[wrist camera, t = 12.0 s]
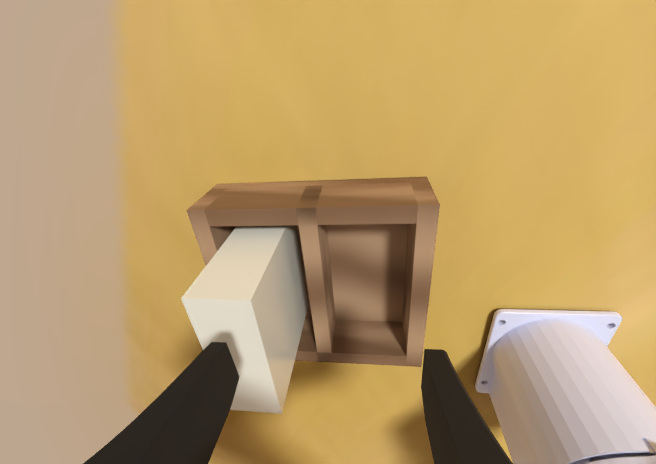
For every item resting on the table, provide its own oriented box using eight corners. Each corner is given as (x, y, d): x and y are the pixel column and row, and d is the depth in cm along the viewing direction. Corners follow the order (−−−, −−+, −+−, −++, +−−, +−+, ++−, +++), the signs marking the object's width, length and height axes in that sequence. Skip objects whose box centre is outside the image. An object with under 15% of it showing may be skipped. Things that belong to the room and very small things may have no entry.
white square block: (308, 305, 23) (281, 413, 16) (269, 304, 23) (228, 409, 16) (293, 210, 19) (250, 300, 12) (247, 211, 19) (181, 298, 12)
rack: (413, 323, 24) (421, 366, 20) (254, 318, 25) (237, 357, 22) (426, 176, 18) (439, 204, 14) (217, 184, 19) (186, 210, 16)
